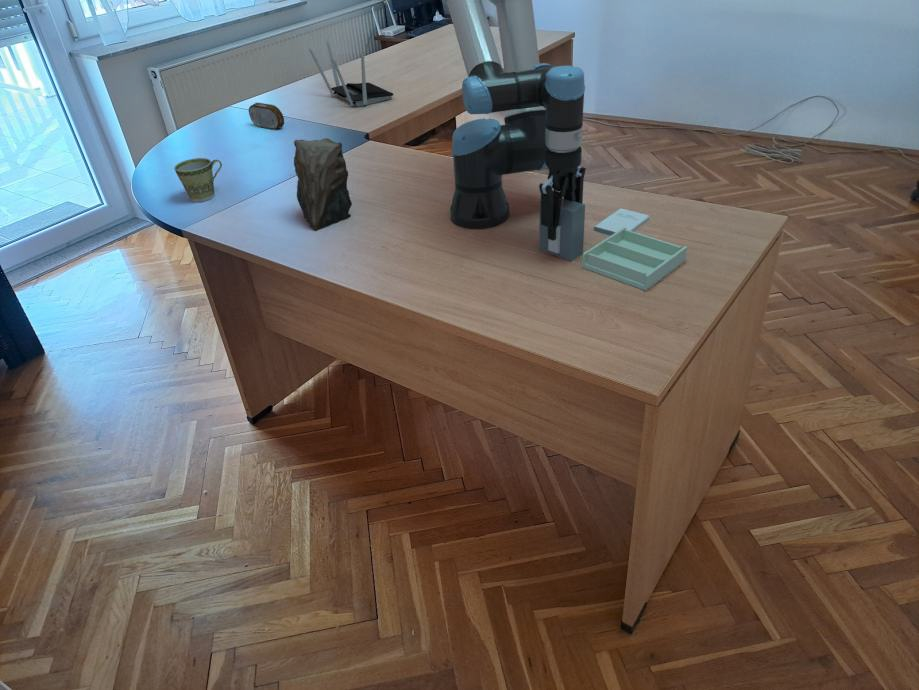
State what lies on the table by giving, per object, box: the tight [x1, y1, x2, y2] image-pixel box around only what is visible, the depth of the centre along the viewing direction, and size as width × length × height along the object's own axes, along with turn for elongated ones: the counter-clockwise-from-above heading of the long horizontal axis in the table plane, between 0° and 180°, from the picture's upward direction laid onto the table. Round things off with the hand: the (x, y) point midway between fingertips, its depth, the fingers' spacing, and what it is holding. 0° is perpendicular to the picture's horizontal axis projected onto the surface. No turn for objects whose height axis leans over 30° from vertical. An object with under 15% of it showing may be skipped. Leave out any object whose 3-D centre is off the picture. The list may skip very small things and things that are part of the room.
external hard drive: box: [593, 208, 650, 236], centre depth 166 cm, size 2×8×12 cm
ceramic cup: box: [173, 157, 223, 203], centre depth 195 cm, size 13×10×10 cm
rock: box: [293, 137, 353, 232], centre depth 175 cm, size 13×13×20 cm
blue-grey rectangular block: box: [538, 197, 586, 262], centre depth 153 cm, size 9×4×12 cm, turn 46°
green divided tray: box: [581, 227, 688, 291], centre depth 149 cm, size 16×16×3 cm
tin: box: [248, 102, 285, 131], centre depth 244 cm, size 15×3×8 cm, turn 58°
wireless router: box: [308, 38, 394, 107], centre depth 263 cm, size 34×23×20 cm
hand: (561, 246), depth 156 cm, fingers closed on blue-grey rectangular block, 4 cm apart
